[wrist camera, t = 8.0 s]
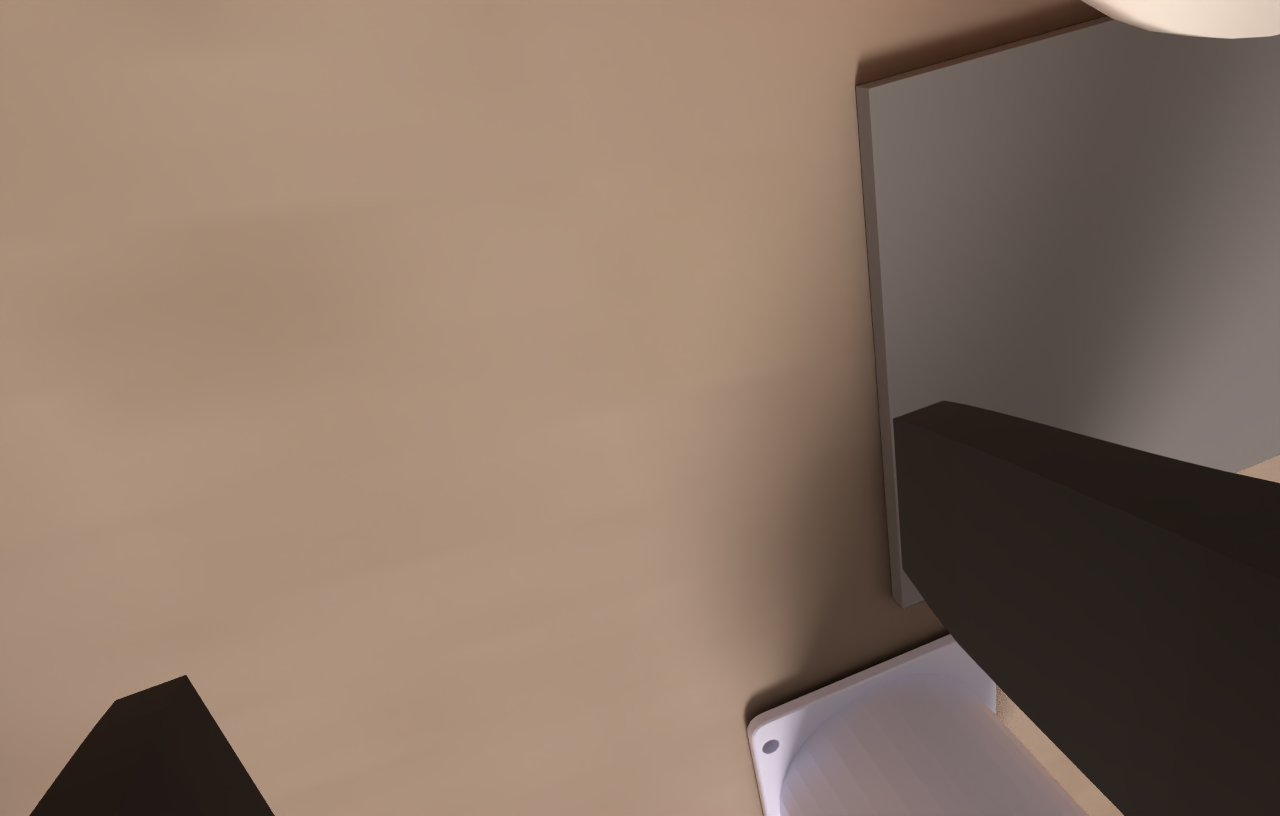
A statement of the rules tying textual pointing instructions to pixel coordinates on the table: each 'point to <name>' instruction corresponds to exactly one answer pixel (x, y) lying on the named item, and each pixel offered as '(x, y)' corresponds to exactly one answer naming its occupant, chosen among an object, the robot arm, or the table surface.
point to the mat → (1081, 242)
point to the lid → (1197, 16)
